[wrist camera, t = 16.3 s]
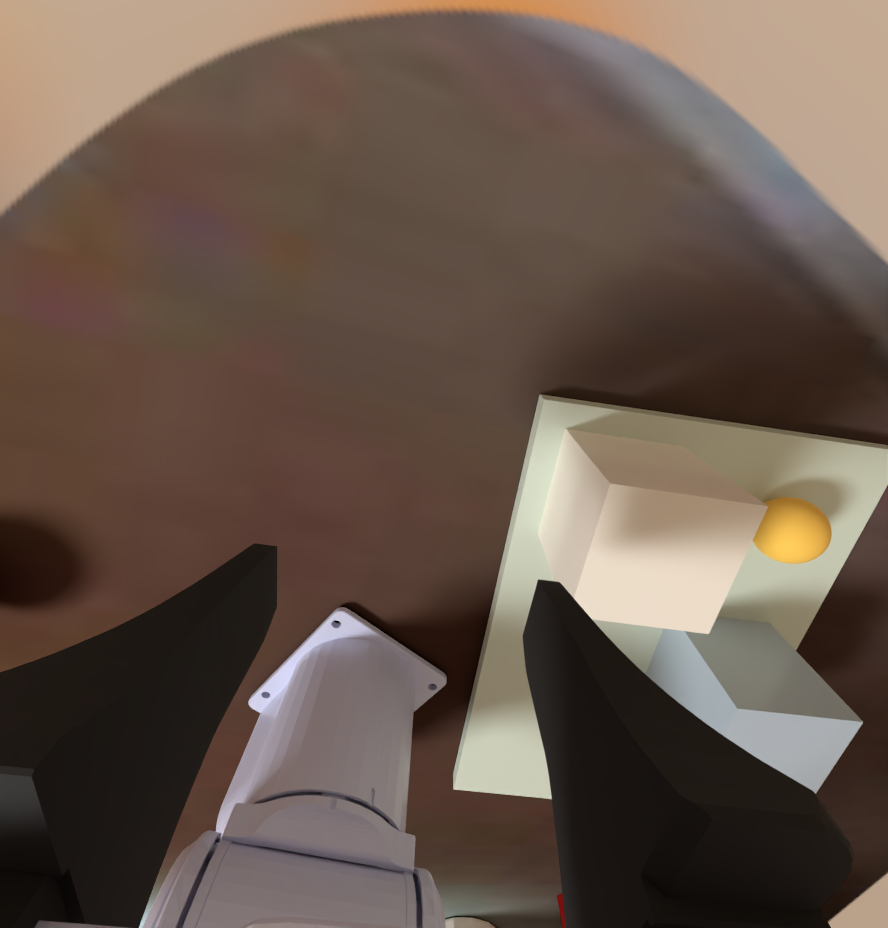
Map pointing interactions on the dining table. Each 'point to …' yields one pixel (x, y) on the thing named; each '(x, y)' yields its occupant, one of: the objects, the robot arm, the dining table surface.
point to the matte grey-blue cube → (757, 695)
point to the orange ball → (793, 531)
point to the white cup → (467, 923)
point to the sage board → (750, 598)
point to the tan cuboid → (645, 531)
